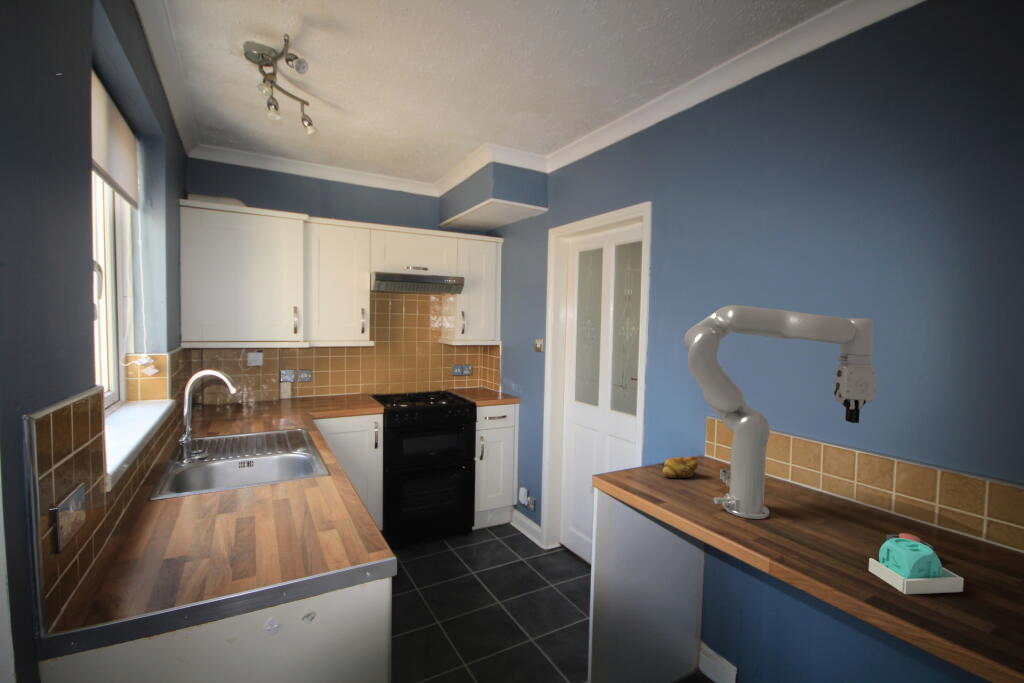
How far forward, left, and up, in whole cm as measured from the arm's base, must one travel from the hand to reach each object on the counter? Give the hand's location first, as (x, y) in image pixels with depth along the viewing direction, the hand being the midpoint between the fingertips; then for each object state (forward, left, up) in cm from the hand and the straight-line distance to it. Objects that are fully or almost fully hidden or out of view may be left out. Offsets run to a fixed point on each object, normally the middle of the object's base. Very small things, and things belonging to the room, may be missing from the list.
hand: (852, 421), depth 137 cm
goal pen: (-11, -32, -29) cm, 45 cm away
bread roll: (-35, +38, -29) cm, 60 cm away
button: (-2, -22, -28) cm, 35 cm away
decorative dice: (-12, -32, -29) cm, 45 cm away
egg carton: (-18, +30, -30) cm, 46 cm away
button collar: (-2, -22, -29) cm, 36 cm away
